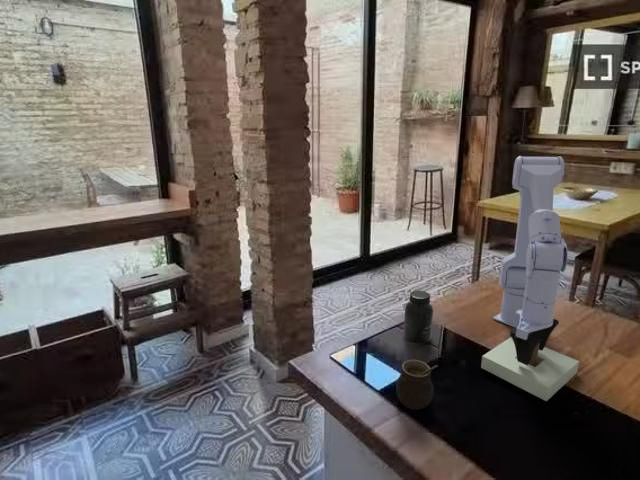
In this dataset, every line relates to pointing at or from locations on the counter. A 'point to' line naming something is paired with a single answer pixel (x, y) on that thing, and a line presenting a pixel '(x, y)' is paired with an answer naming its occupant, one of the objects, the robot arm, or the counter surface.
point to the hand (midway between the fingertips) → (530, 355)
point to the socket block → (531, 369)
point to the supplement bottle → (418, 318)
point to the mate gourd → (415, 384)
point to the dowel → (534, 356)
